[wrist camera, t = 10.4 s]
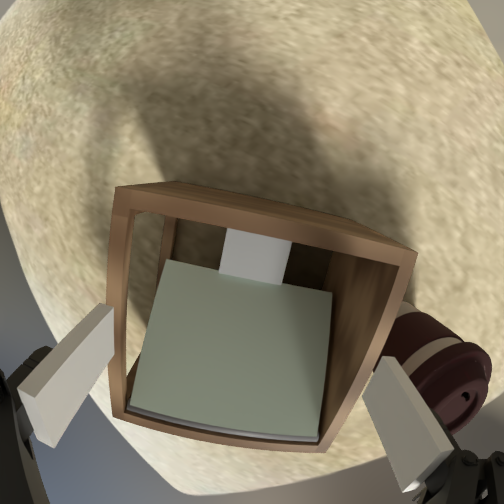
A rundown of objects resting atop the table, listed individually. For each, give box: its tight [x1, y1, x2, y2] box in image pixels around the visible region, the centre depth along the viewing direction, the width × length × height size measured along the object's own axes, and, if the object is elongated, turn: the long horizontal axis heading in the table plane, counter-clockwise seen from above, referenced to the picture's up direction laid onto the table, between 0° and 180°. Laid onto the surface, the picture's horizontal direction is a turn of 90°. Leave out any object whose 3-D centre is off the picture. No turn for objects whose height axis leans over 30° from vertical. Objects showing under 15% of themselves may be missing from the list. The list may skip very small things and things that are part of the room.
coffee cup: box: [373, 301, 492, 435], centre depth 23 cm, size 10×10×15 cm
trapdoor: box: [127, 259, 332, 442], centre depth 21 cm, size 12×14×1 cm
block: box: [219, 228, 292, 285], centre depth 25 cm, size 5×5×5 cm
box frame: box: [106, 181, 418, 453], centre depth 23 cm, size 17×17×12 cm
